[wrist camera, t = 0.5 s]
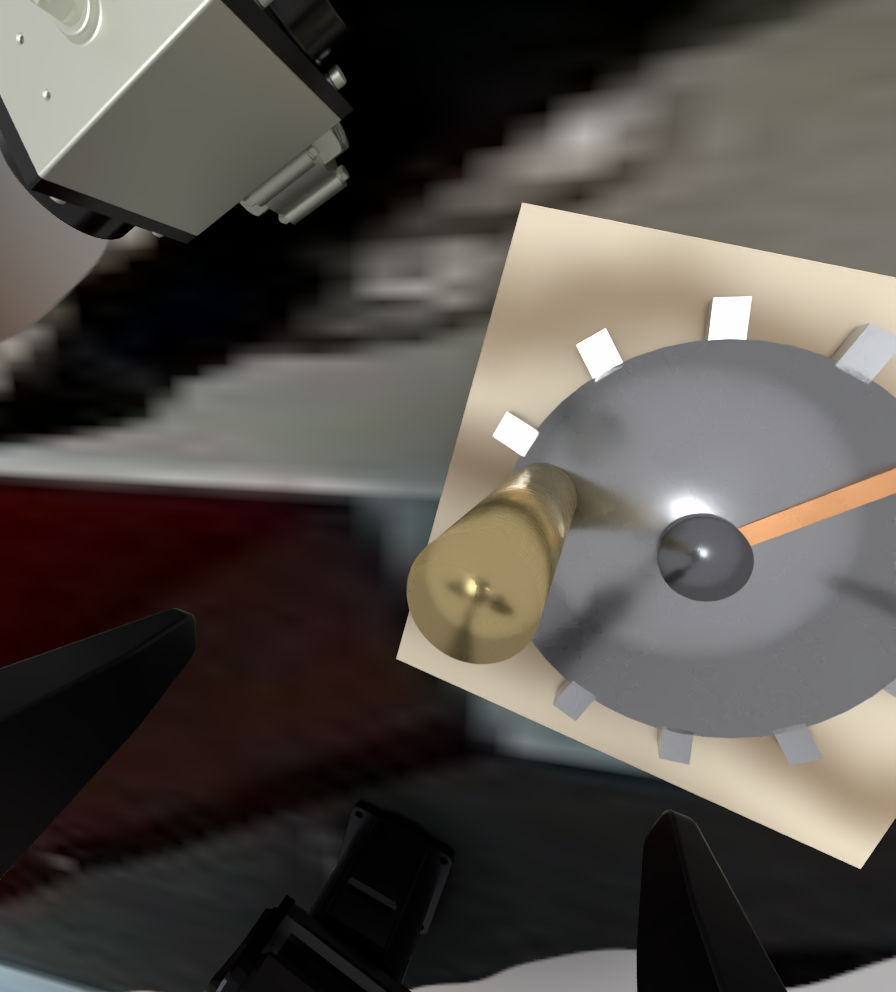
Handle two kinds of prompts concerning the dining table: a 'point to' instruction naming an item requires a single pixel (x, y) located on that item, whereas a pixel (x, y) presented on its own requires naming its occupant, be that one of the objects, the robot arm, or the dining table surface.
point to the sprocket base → (562, 370)
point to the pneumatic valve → (173, 109)
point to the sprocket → (691, 539)
